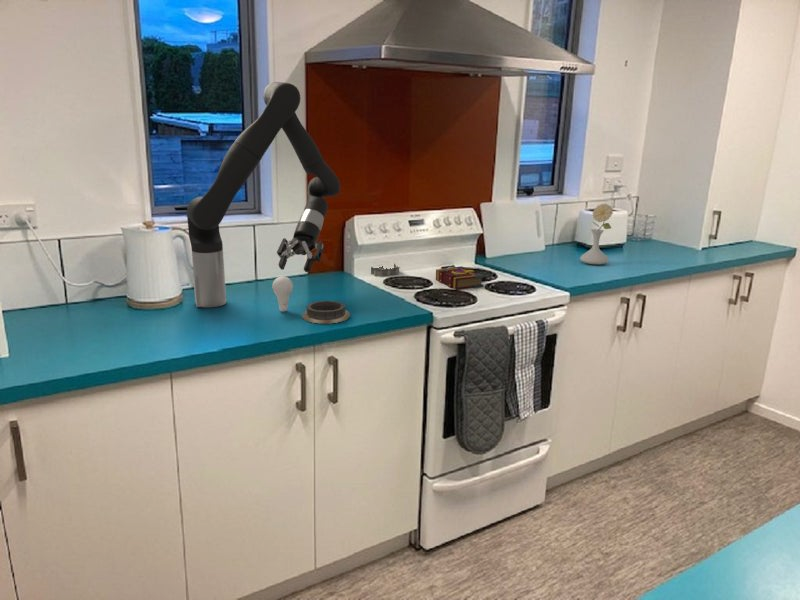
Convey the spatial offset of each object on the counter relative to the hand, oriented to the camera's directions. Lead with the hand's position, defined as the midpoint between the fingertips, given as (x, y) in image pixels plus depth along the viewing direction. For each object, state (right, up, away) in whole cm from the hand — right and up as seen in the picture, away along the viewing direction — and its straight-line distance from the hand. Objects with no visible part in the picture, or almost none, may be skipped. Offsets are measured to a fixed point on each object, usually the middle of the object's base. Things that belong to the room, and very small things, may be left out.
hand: (293, 269), depth 198 cm
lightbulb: (-2, -13, -3) cm, 14 cm away
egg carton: (+27, 0, +44) cm, 52 cm away
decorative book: (+54, -4, +32) cm, 63 cm away
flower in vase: (+113, +5, +65) cm, 131 cm away
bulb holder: (+11, -14, -7) cm, 20 cm away
